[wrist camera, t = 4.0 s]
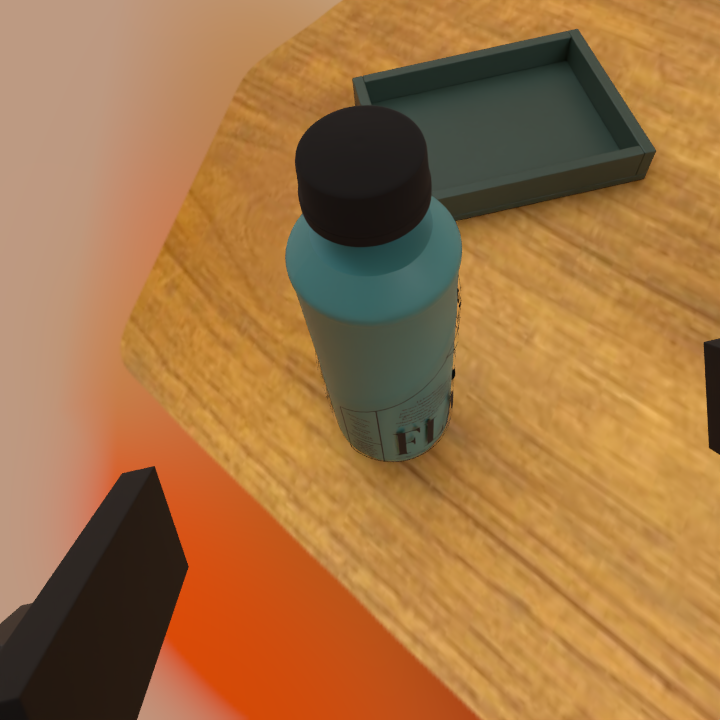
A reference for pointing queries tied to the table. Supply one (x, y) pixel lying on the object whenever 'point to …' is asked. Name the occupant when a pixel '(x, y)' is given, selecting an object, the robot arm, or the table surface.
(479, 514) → the table surface
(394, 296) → the beverage bottle
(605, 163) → the tray
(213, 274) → the table surface
